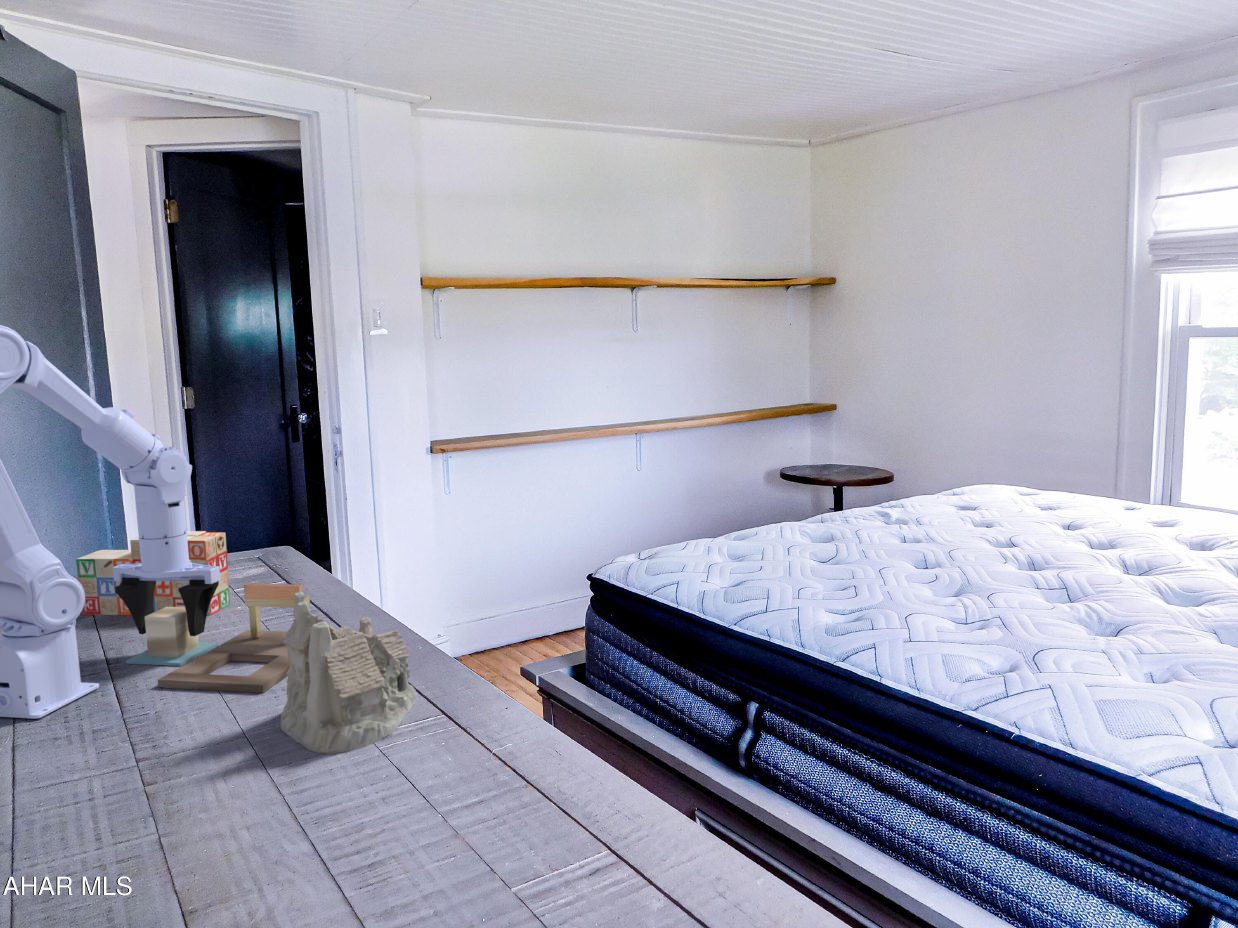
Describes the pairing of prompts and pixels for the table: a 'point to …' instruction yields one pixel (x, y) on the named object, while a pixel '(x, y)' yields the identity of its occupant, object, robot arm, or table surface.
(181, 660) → the teal square plate
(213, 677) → the puzzle board
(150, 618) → the birch block
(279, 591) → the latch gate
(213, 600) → the stack of blocks
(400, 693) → the ceramic cottage
